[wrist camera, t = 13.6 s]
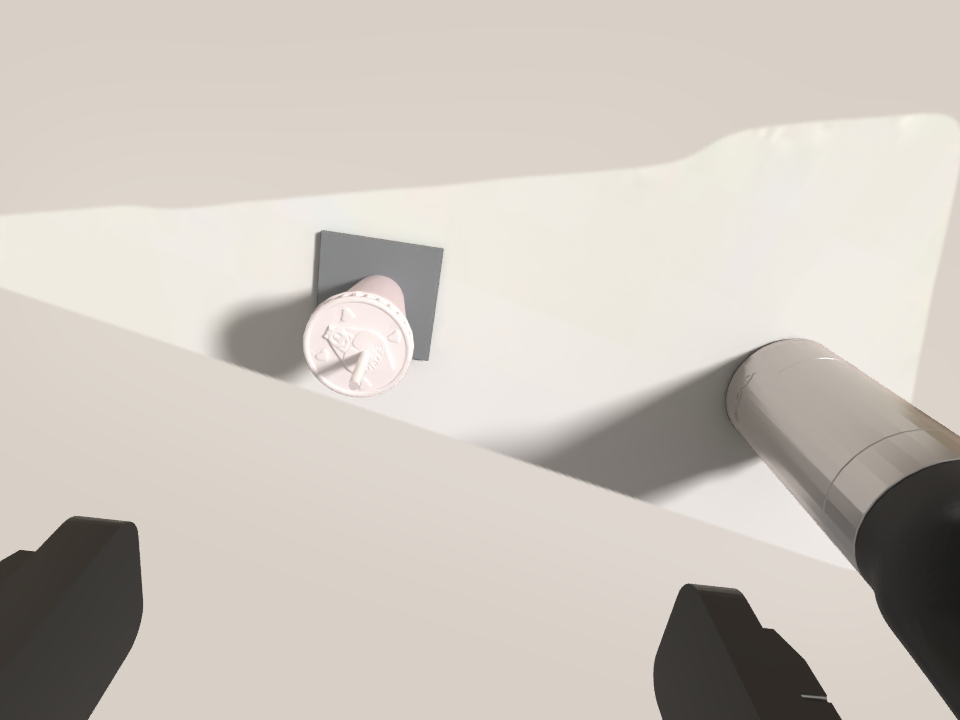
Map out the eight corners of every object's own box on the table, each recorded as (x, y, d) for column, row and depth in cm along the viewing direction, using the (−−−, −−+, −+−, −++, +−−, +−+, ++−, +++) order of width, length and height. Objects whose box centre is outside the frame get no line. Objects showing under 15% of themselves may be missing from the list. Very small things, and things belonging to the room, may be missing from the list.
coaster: (443, 248, 43) (443, 250, 43) (428, 357, 46) (428, 360, 46) (323, 230, 42) (321, 231, 42) (316, 342, 46) (314, 345, 45)
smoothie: (394, 356, 46) (368, 454, 33) (317, 312, 44) (258, 397, 31) (439, 286, 44) (430, 362, 31) (360, 238, 42) (316, 296, 29)
